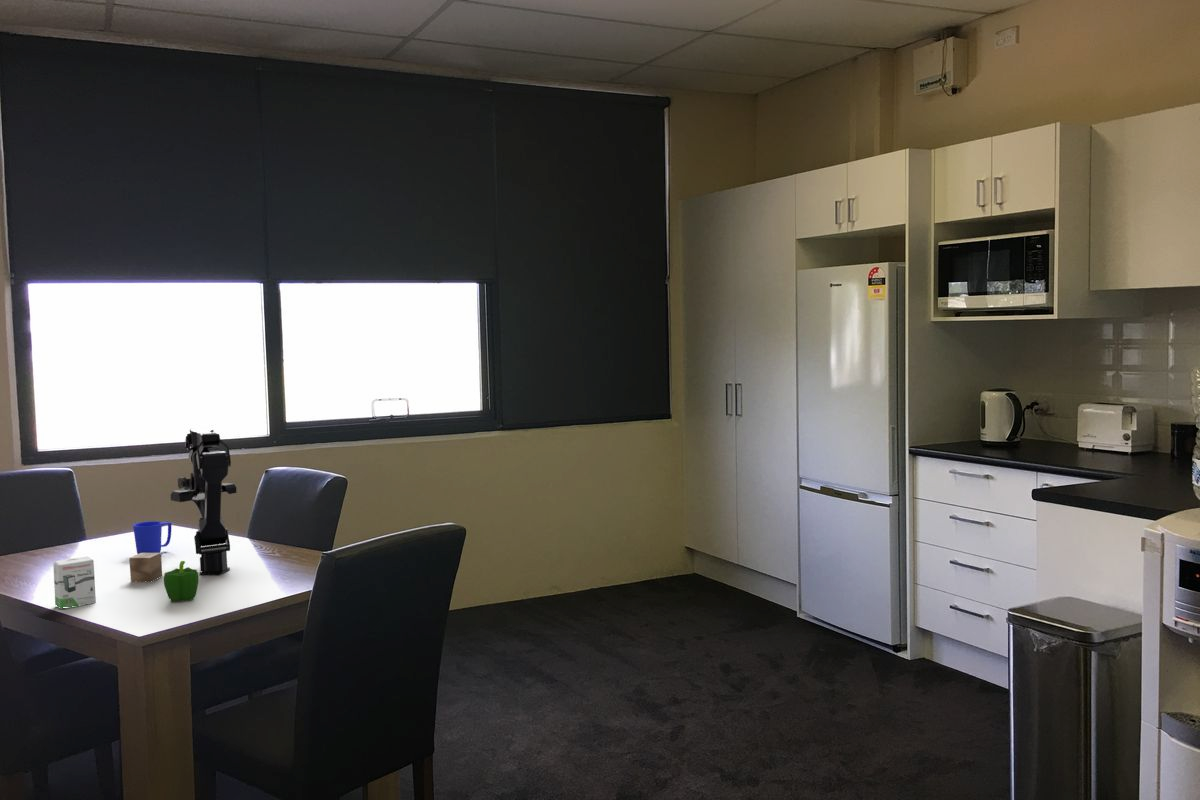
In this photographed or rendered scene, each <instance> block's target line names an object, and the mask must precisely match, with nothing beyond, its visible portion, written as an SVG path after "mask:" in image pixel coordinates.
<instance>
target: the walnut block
mask: <svg viewBox="0 0 1200 800" xmlns="http://www.w3.org/2000/svg"><path fill="white" fill-rule="evenodd" d="M162 563H163V561H162V552H160V553H140V554H135V555H133V556H131V557H129V573H130V583H152V582H154V581H156V580H158V579H160V578H162V577H163V567H162V566H163V564H162ZM161 576H162V577H161ZM159 577H160V578H159ZM157 578H158V579H157ZM155 579H156V580H155ZM153 580H154V581H153ZM135 581H137V582H135ZM145 581H146V582H145ZM151 581H152V582H151Z"/></svg>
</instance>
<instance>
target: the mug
mask: <svg viewBox="0 0 1200 800" xmlns="http://www.w3.org/2000/svg"><path fill="white" fill-rule="evenodd" d="M166 525H167V538H166V541H165V543H164V544H162V532H163V530H162V528H163V526H166ZM132 526H133V535H134V541H135V543H134V544H135V548H136V553H137V554H140V553H162V548H166V547H167V546H168V545H170V542H171V537H172V522H170V521H165V522H162V521H157V520H155V521H154V520H153V521H152V520H151V521H142V522H138V523H135V524H132ZM137 554H136V555H137Z"/></svg>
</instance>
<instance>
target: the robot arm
mask: <svg viewBox="0 0 1200 800" xmlns="http://www.w3.org/2000/svg"><path fill="white" fill-rule="evenodd" d="M184 441H185V442H184V448H185V449H186V450H187V451H189V453H188V460H189V462H190V464H192V472H190V478H187V477H186V476H184V477H179V478H178V479H177V487H178V490H173V491H172V492H171V494H170V501H171V502H178V503H184V502H185V503H186V502H193V503H194V504H195V505H196V506H197V509H198V510H199V512H200V515H201V517H200V518H199V519H198V530H197V531H195V535H194V536H193V537H194V538H193V539H194V546H195V554H196V555H200V556H199V569H200V572H198V575H203V576H204V575H208V576H209V575H210V576H211V575H217V576H218V575H222V574H224V573H225V572H228V571H229V570H231V567H228V558H227V557H228V556H227V552H230V551H231V544H230V543H231V542H230V538H229V532H228V528H227V527H226V525H225V521H224V519H223V517H222V515H221V514H222V493H226V494H227V495H233V494H236V493H238V488H237V486H236V484H235V483H231V482H223V481H224V480H225V479H226V478H227V476H228V475H229V468H230V467H231V466H232V465H231V464H232V461H231V454H230V450H229V449H230V448H229V446H228V445H227V444H226V443H225V442H224V441H223V440H222V439H221V435H220V433H219V432H217V431H215V430H214V429H213V427H202V428H201V427H200V428H190V429H189V432H187V434H186V436H185V440H184ZM215 447H217V449H218V450H217V451H210V449H211V450H212V449H215ZM222 482H223V483H222Z"/></svg>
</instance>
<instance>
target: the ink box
mask: <svg viewBox="0 0 1200 800" xmlns="http://www.w3.org/2000/svg"><path fill="white" fill-rule="evenodd" d="M94 562H95V561H94V559H92V558H91V557H90V556H81V557H80V556H79V557H75V558H67V559H61V560H56V561H53V584H54V586H53V587H54V604H55V605H57V606H58V607H60V608H63V607H72V606H77V607H80V606H79V605H82V606H86V605H85V604H88V605H92V604H91V603H93V604H96V603H97V602H96V600H97V599H96V598H97V597H96V581H95V563H94ZM55 605H54V606H55ZM58 607H57V608H58ZM60 608H59V609H60ZM72 608H73V607H72Z"/></svg>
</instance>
